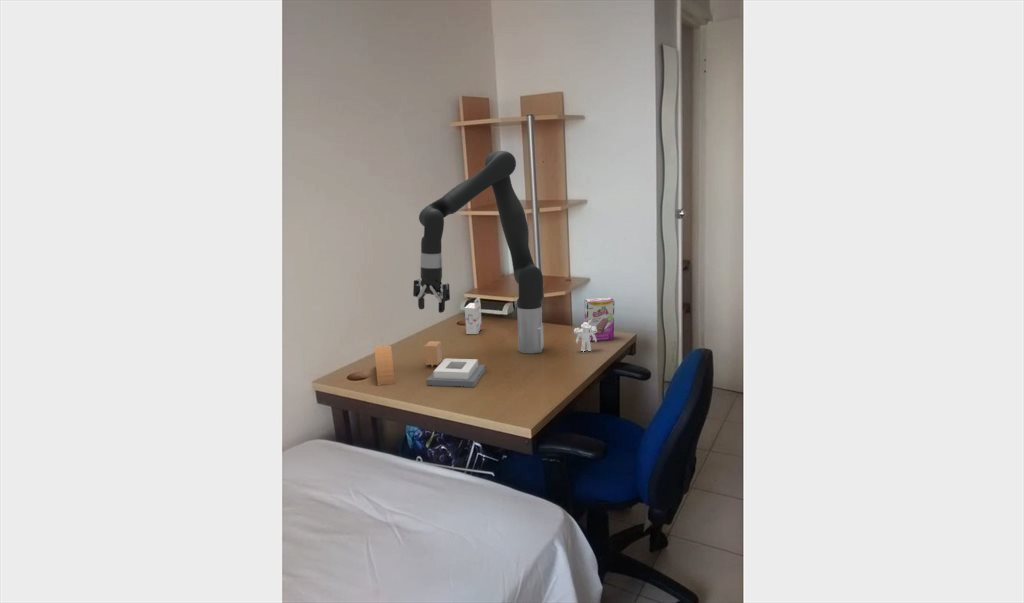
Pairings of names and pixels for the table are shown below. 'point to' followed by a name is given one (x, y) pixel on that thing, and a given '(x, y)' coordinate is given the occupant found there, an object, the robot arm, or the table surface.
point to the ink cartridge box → (473, 317)
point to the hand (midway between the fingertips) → (431, 310)
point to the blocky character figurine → (585, 335)
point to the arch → (384, 365)
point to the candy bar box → (600, 317)
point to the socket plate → (457, 382)
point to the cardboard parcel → (433, 353)
